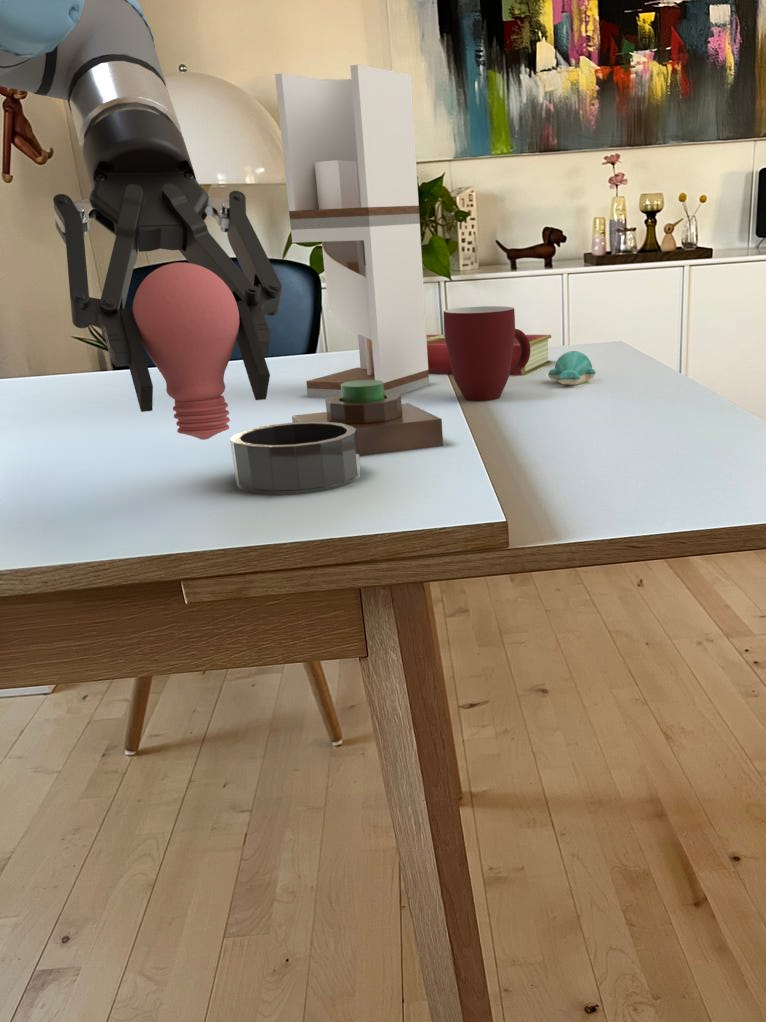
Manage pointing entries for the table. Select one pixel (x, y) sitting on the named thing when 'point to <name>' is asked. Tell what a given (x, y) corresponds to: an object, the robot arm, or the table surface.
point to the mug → (483, 349)
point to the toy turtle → (572, 369)
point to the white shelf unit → (360, 215)
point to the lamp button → (362, 391)
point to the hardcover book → (538, 359)
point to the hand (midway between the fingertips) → (205, 392)
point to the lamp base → (382, 424)
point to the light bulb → (189, 341)
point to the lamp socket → (296, 458)
